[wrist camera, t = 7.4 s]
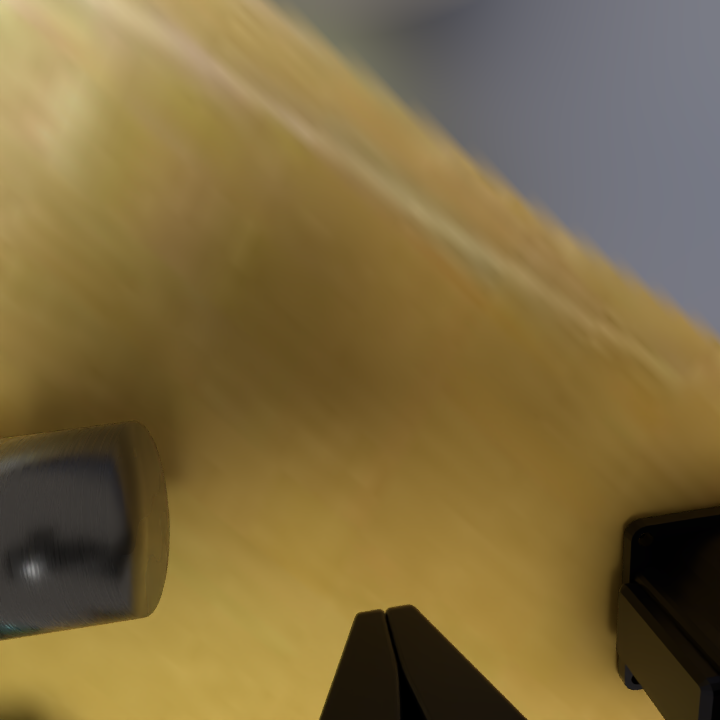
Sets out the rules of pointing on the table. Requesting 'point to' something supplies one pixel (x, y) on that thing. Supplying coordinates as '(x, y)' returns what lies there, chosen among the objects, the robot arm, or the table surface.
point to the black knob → (81, 528)
